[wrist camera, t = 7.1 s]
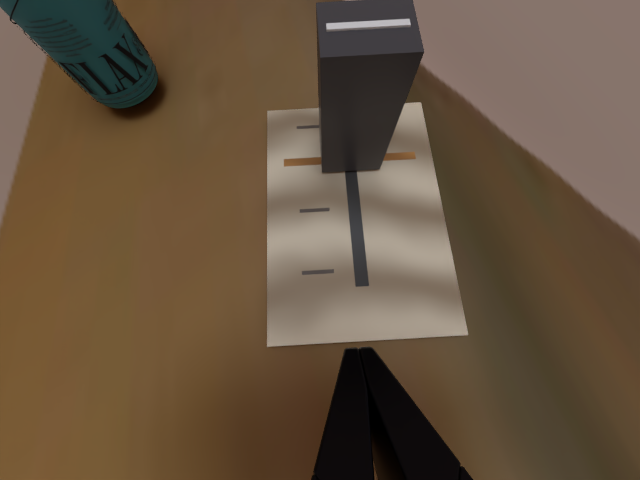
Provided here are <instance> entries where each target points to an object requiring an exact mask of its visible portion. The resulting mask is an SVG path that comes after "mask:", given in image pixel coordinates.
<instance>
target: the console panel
mask: <svg viewBox="0 0 640 480" xmlns="http://www.w3.org/2000/svg"><path fill="white" fill-rule="evenodd" d="M460 335H468V331H467V326H466V321H465V316H464V311H463V306H462V301H461V297H460V292H459V287H458V282H457V277H456V272H455V267H454V262H453V257H452V252H451V247H450V242H449V238H448V233H447V228H446V223H445V218H444V213H443V208H442V203H441V198H440V193H439V188H438V184H437V179H436V174H435V169H434V164H433V159H432V154H431V149H430V144H429V139H428V134H427V129H426V125H425V120H424V115H423V110H422V105H421V102H418V103H405V104H404V107H403V109H402V112H401V115H400V117H399V120H398V122H397V125H396V128H395V130H394V133H393V136H392V138H391V141H390V144H389V146H388V149H387V152H386V154H385V157H384V160H383V162H382V165H381V168H380V169H376V170H359V171H341V172H323V173H322V167H321V152H320V136H319V108H312V109H294V110H276V111H268V116H267V347H271V346H288V345H305V344H322V343H340V342H357V341H374V340H391V339H408V338H426V337H443V336H460Z"/></svg>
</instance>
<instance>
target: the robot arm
mask: <svg viewBox="0 0 640 480" xmlns="http://www.w3.org/2000/svg"><path fill="white" fill-rule="evenodd" d="M373 461H374V465H375V469H376V473H377V478H378V480H473V479H472V478H471V476H470V475H469V474H468V472H467V471H466V470H465V468H464V467H463V466H461V467H460V462H459V461H458V459H457V458H456V457H455V455H454V454H453V453H452V451H451V450H450V449H449V447H448V446H447V445H446V444H445V442H444V441H443V440H442V438H441V437H440V436H439V434H438V433H437V432H436V430H435V429H434V428H433V426H432V425H431V424H430V422H429V421H428V420H427V418H426V417H425V416H424V415H423V413H422V412H421V411H420V409H419V408H418V407H417V405H416V404H415V403H414V401H413V400H412V399H411V397H410V396H409V395H408V393H407V392H406V391H405V390H404V388H403V387H402V386H401V384H400V383H399V382H398V380H397V379H396V378H395V376H394V375H393V374H392V372H391V371H390V370H389V368H388V367H387V366H386V365H385V363H384V362H383V361H382V359H381V358H380V357H379V355H378V354H377V353H376V351H375V350H374V349H373V348H372V347H360V348H359V349H358V348H346V349H345V350H344V354H343V358H342V362H341V366H340V370H339V373H338V377H337V381H336V385H335V389H334V393H333V397H332V401H331V405H330V409H329V412H328V416H327V420H326V424H325V428H324V432H323V436H322V440H321V444H320V447H319V451H318V455H317V459H316V463H315V467H314V471H313V473H314V475H312V478H311V480H374V467H373Z"/></svg>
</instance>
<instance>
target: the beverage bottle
mask: <svg viewBox="0 0 640 480" xmlns="http://www.w3.org/2000/svg"><path fill="white" fill-rule="evenodd" d="M0 7H1V8H2V9H3V10H4V11H5V12H6V13H7V14H8V15H9V16H10V21H11V19H13V20H14V21H15V22H16V23H14V24H18V25H19V26H20V27H21V28H22V29H23V30H24V31H25V32H26V33H27V34H28V35H29V36H30V38H31V39H33V40H34V41H35V42H37V43H38V45H40V46H41V47H42V48H43V49H44V50H45V51H46V52H47V53H48V54H49V55H50V56H51V58H50V57H49V56H48V55H47V56H48V57H49V58H50V59H51V60H52V58H53V59H54V61H53V62H54V63H55V61H56V62H57V63H58V64H59V67H60V66H61V67H62V68H63V70H64V71H63V70H62V69H61V70H62V71H63V72H64V73H65V71H66V73H67V75H68V74H69V75H68V76H70V75H71V76H72V77H73V78H74V79H73V78H72V79H73V81H74V80H76V81H77V82H78V83H79V84H80V85H81V86H82V87H83V88H84V90H86V91H87V92H88V93H89V94H90V95H91V96H92V97H93V98H94V99H96V100H97V102H98V101H99V102H100V103H102V104H104V105H106V106H108V107H112V108H127V107H131V106H134V105H136V104H138V103H140V102H142V101H143V100H145V99H146V98H147V97H148V96H149V95H150V94H151V93H152V92H153V90H154V89H155V87H156V85H157V80H158V75H157V71H156V66H155V65H154V64H153V61H152V60H151V59H150V57H149V54H148V51H147V50H146V49H145V48H144V45H143V44H142V43H141V42H140V41H141V40H139V39H138V38H139V37H137V34H136V33H134V32H135V31H133V30H132V28H131V27H130V26H131V25H129V24H128V22H127V20H126V19H125V20H124V18H123V17H122V15H121V14H120V13H121V12H119V11H118V8H117V5H116V3H115V5H114V2H112V0H0ZM12 23H13V22H12ZM34 44H35V43H34ZM36 46H37V45H36ZM46 52H45V53H46ZM151 58H152V57H151ZM56 65H57V64H56ZM71 76H70V78H71ZM76 81H74V82H75V83H76ZM79 84H77V85H79ZM80 88H81V87H80ZM86 91H85V92H86ZM94 99H93V100H94ZM96 100H95V101H96Z"/></svg>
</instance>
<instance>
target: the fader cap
mask: <svg viewBox="0 0 640 480" xmlns="http://www.w3.org/2000/svg"><path fill="white" fill-rule="evenodd" d="M316 17H317V57H318V97H319V136H320V152H321V167H322V173H323V172H341V171H359V170H376V169H380V168H381V165H382V162H383V160H384V157H385V154H386V152H387V149H388V146H389V144H390V141H391V138H392V136H393V133H394V130H395V128H396V125H397V122H398V120H399V117H400V115H401V112H402V109H403V107H404V104H405V101H406V99H407V96H408V93H409V91H410V88H411V85H412V83H413V80H414V77H415V75H416V72H417V69H418V67H419V64H420V61H421V59H422V56H423V53H424V49H423V45H422V40H421V35H420V31H419V26H418V22H417V18H416V13H415V9H414V4H413V0H358V1H339V2H321V3H316Z"/></svg>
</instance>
